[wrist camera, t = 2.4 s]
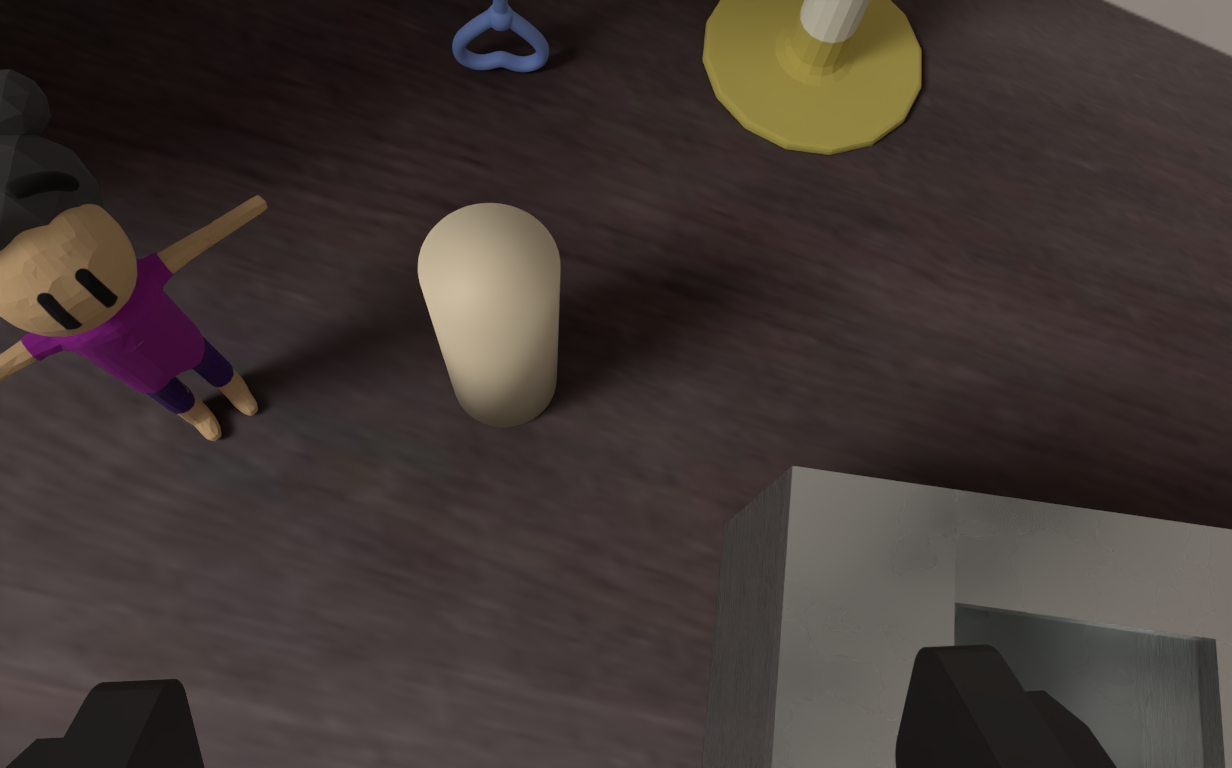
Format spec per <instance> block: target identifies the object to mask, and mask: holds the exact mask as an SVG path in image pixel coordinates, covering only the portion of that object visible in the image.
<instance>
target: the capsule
mask: <svg viewBox="0 0 1232 768" xmlns="http://www.w3.org/2000/svg"><path fill="white" fill-rule="evenodd" d="M560 269H561V267H560V257H559V252H558V249H557V246H556V243H555V241H554V239H553V237H552V236H551V234H550V233H549V231H548V230H547V229H546V228H545V226H544V225H543V224H542V223H541V222H540V221H538V220H537V219H536V218H535V217H533V216H532V215H530V214H529V213H527V212H525V211H523V210H521V209H519V208H516V207H513V206H510V205H505V204H498V203H481V204H474V205H470V206H466V207H464V208H461V209H458V210H456V211H454V212H452V213H451V214H449V215H447V216H446V217H445V218H443V219H442V220H441V221H440V222H439V223H437V224H436V225H435V226H434V228H433V229H432V230H431V231H430V232H429V234H428V236H427V237H426V239H425V241H424V243H423V245H422V247H421V251H420V254H419V259H418V277H419V282H420V285H421V289H422V292H423V295H424V298H425V301H426V304H427V308H428V311H429V314H430V317H431V320H432V323H433V326H434V329H435V333H436V336H437V339H438V342H439V345H440V348H441V351H442V354H443V358H444V361H445V364H446V367H447V370H448V373H449V376H450V380H451V383H452V386H453V389H454V392H455V395H456V398H457V400H458V402H459V403H460V405H461V406H462V408H463V409H464V410H465V411H466V412H467V413H468V414H469V415H470V416H471V417H473V418H474V419H475V420H477V421H479V422H481V423H483V424H486V425H489V426H493V427H501V428H507V427H515V426H519V425H522V424H525V423H527V422H529V421H531V420H533V419H534V418H536V417H537V416H538V415H540V414H541V413H542V412H543V411H544V410H545V409H546V407H547V406H548V405H549V403H550V401H551V399H552V398H553V395H554V392H555V389H556V383H557V359H558V329H559V299H560Z"/></svg>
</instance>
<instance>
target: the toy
mask: <svg viewBox="0 0 1232 768" xmlns="http://www.w3.org/2000/svg"><path fill="white" fill-rule="evenodd" d="M50 118H51V114H50V109H49V105H48V101H47V96H46V95H45V94H44V92H43V91H42V90H41V88H40V87H39V86H38V85H37V83H36V82H35V81H34V80H32V79H30V78H28V77H26V76H24V75H22V74H20V73H17V72H15V71H13V70H11V69H4V70H0V316H1V317H2V318H3V319H5V320H6V321H8V322H9V323H11V324H13V325H14V326H16V327H18V328H21V329H23V330H25V331H28V332H29V333H28V334H26V335H25V336H24V337H23V338H21V341H19V342H18V343H16V344H15V345H14V346H12V347H11V348H9V349H8V350H6V351H5V352H4V353H2V354H1V355H0V382H1V381H2V380H4V379H5V378H7V377H8V376H10V375H12V374H13V373H15V372H17V371H18V370H20V369H22V368H24V367H26V366H28V365H29V364H31V363H33V362H35V361H37V360H40V361H41V360H42V359H44V358H45V357H47V356H48V355H51V354H54V353H57V352H60V351H63V350H66V351H71V352H75V353H77V354H80V355H82V356H84V357H86V358H87V359H89V360H90V361H92V362H93V363H95V364H96V365H98V366H99V367H101V368H102V369H104V370H105V371H107V372H108V373H110V374H111V375H113V376H114V377H116V378H117V379H119V380H121V381H122V382H124V383H125V384H127V385H128V386H130V387H131V388H133V389H134V390H137V391H139V392H142V393H146V394H147V395H149V396H150V397H152V398H153V399H154V400H156V401H157V402H159V403H160V404H161V405H163V406H164V407H166V408H167V409H168V410H170V411H171V412H173V413H175V414H178V415H180V416H181V417H182V418H184V419H185V420H186V421H188V422H189V423H191V424H192V425H194V426H195V427H196V428H197V429H198V430H199V431H200V433H201V434H202V435H203V436H204V437H205V438H207V439H208V440H211V441H216V440H217V439H218V438H220V437H221V429H220V425H219V423H218V421H217V419H216V417H215V416H214V414H213V413H212V412H211V411H210V410H209V408H208V407H207V406H206V405H205V404H204V403H203V402H202V401H201V400H200V399H199V398H198V397H197V396H195V395H194V394H193V393H192V392H191V391H190V389H189V388H188V387H187V386H186V385H185V384H183V383H182V382H181V381H180V380H179V379H177V378H176V377H175V376H177V375H178V374H180V373H181V372H184V371H187V370H189V369H194V370H195V371H196V372H197V373H198V374H200V375H201V376H202V377H203V378H204V379H205V380H207V381H208V382H209V383H210V384H211V385H213V386H215V387H217V388H218V389H219V390H220V391H221V392H222V393H223V394H224V395H225V396H226V397H227V398H228V399H229V400H230V401H231V403H232V404H233V405H234V406H235V407H236V408H237V409H238V410H240V411H241V412H242V413H244V414H246V415H249V416H251V415H253V414H255V413H256V412H257V411H258V407H257V403H256V401H255V399H254V397H253V396H252V394H251V393H250V391H249V389H248V387H247V385H246V383H245V382H244V380H243V379H242V377H241V376H240V375H239V374H238V373H237V372H236V371H235V370H234V369H233V368H232V366H231V365H230V363H229V362H228V361H227V360H226V359H225V358H224V357H223V356H222V355H221V354H220V353H219V352H218V351H217V350H216V349H215V348H214V347H213V346H212V345H211V344H210V343H209V342H208V341H207V340H206V339H205V338H204V337H203V336H202V335H201V333H200V331H199V330H198V328H197V327H196V326H195V324H194V323H193V322H192V321H191V320H190V319H189V318H188V317H187V316H186V315H185V314H184V313H183V312H182V311H181V310H180V309H179V308H178V306H177V305H176V304H175V303H174V302H173V301H172V300H171V299H170V298H169V297H168V295H167V294H166V293H165V292H164V291H163V287H164V285H165V284H166V282H167V281H168V280H169V279H170V278H171V277H172V276H173V273H175V272H176V271H177V270H179V269H180V268H181V267H183V266H184V265H185V264H186V263H188V262H189V261H190V260H192V259H193V258H195V257H196V256H198V255H199V254H201V253H202V252H203V251H205V250H206V249H208V248H209V247H211V246H212V245H214V244H215V243H217V242H218V241H220V240H221V239H223V238H224V237H226V236H227V235H229V234H230V233H232V232H233V231H235V230H236V229H238V228H240V227H241V226H243V225H244V224H246V223H247V222H249V221H250V220H252V219H253V218H255V217H256V216H258V215H259V214H261V213H262V212H264V211H265V210H266V209H267V208H268V207H267V203H266V201H265V200H264V199H262V198H261V197H260V196H258V195H257V196H255V197H253V198H251V199H249V200H247V201H246V202H244V203H243V204H241V205H239V206H238V207H236V208H235V209H233V210H231V211H230V212H228V213H226V214H225V215H223V216H222V217H220V218H218V219H216V220H214V221H213V222H212V223H210V224H209V225H207V226H205V227H203V228H201V229H199V230H198V231H196V232H194V233H192V234H190V235H189V236H187V237H185V238H183V239H182V240H180V241H178V242H176V243H175V244H173V245H171V246H169V247H168V248H166V249H164V250H163V251H161V252H159V253H154V254H151V255H149V256H147V257H145V258H143V259H136V256H135V253H134V250H133V247H132V245H131V243H130V241H129V239H128V237H127V236H126V234H125V233H124V231H123V230H122V228H121V227H120V225H119V224H118V223H117V222H116V221H115V220H114V219H113V218H112V217H111V216H110V215H109V214H108V213H107V212H106V211H105V210H104V209H103V204H102V199H101V194H100V189H99V185H98V182H97V181H96V179H95V178H94V177H93V176H92V174H91V173H90V172H89V170H88V169H87V168H86V166H85V165H84V164H83V163H82V161H81V160H80V159H79V157H78V156H77V155H76V153H75V152H74V151H73V150H71V149H69V148H66V147H64V146H62V145H60V144H57V143H55V142H53V141H51V140H48V139H46V138H44V137H42V136H40V135H41V134H42V133H43V131H44V129H45V127H46V125H47V123H48V121H49V120H50Z"/></svg>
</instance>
